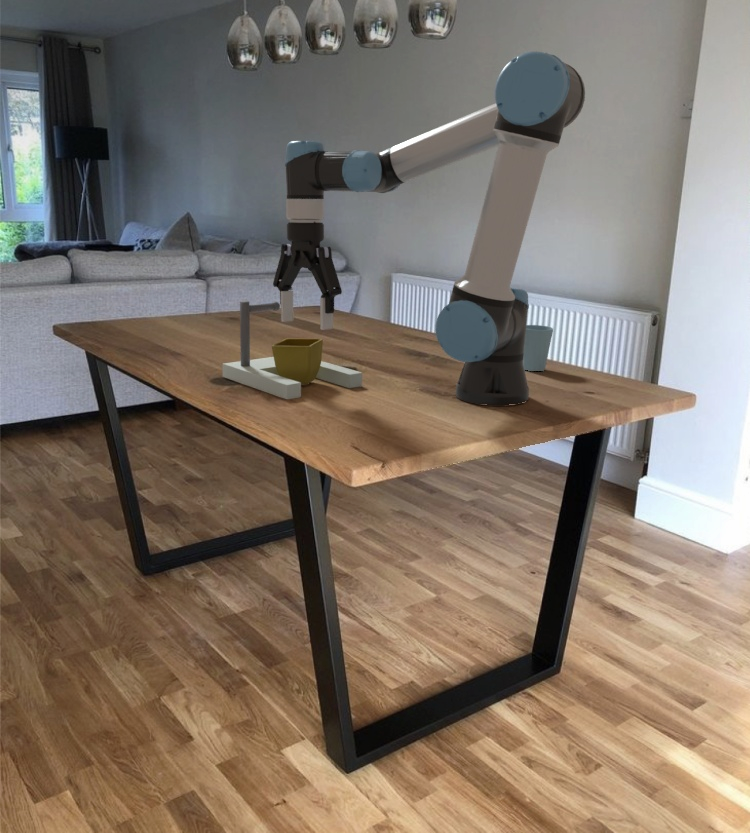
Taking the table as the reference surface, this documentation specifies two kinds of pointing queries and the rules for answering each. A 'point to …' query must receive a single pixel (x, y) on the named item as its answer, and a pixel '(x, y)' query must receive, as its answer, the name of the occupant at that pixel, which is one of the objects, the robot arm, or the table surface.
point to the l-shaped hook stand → (264, 369)
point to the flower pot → (298, 358)
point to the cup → (536, 347)
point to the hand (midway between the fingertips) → (306, 325)
